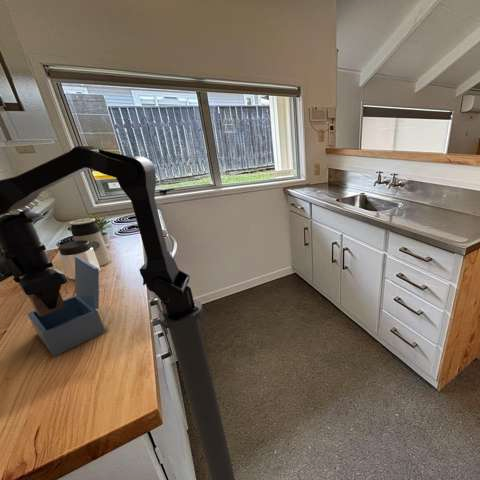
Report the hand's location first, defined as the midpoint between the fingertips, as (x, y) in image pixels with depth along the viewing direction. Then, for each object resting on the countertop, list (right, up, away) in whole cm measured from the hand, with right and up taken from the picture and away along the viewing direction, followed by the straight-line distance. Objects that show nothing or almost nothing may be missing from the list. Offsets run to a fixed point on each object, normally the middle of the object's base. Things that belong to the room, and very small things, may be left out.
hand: (49, 305), depth 60 cm
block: (0, -1, 0) cm, 1 cm away
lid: (+4, +5, +5) cm, 8 cm away
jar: (-23, +2, +34) cm, 41 cm away
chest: (+1, -8, +4) cm, 9 cm away
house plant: (-37, +11, +58) cm, 70 cm away
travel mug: (-26, +5, +42) cm, 50 cm away
